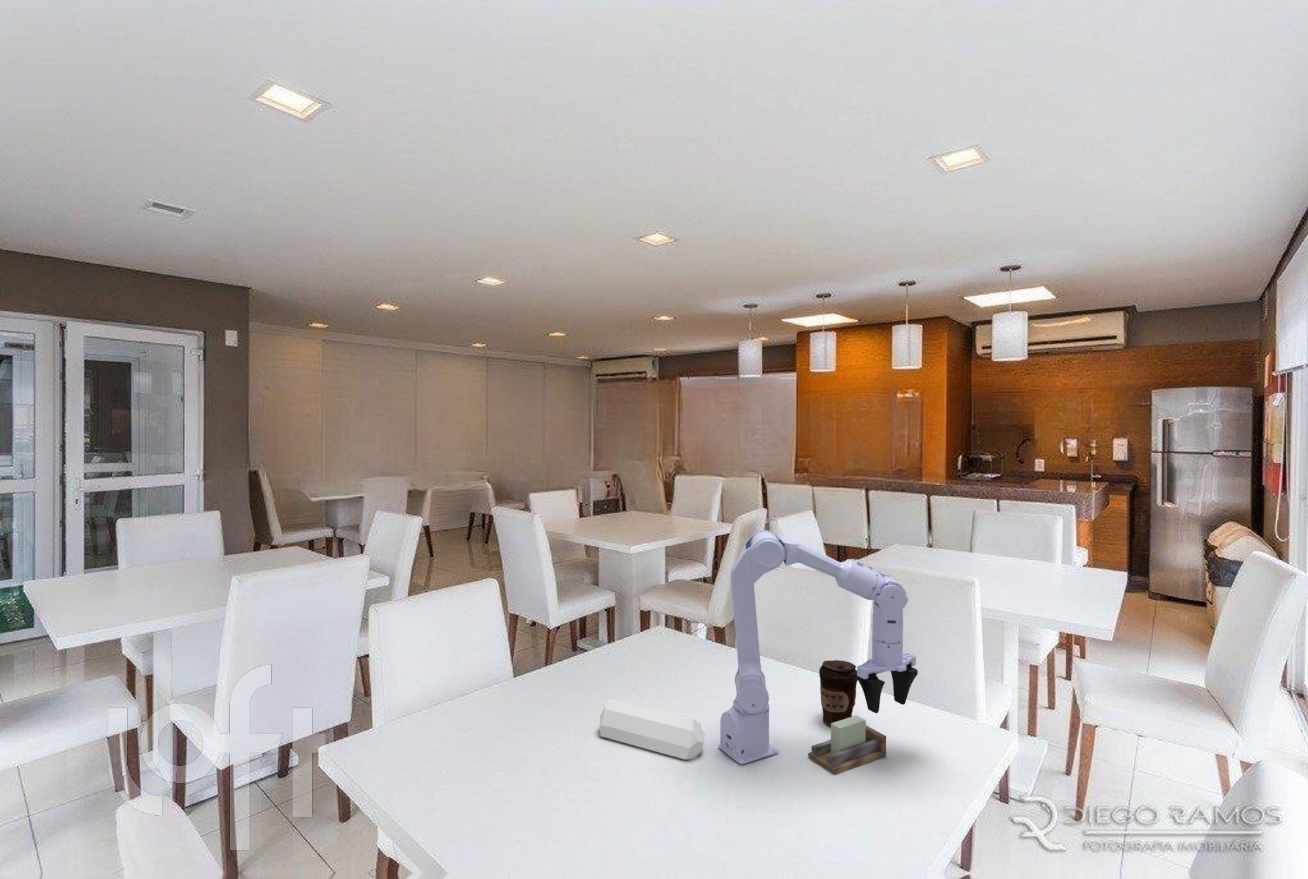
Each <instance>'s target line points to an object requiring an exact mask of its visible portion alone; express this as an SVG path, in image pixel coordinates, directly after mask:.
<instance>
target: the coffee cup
mask: <svg viewBox="0 0 1308 879" xmlns="http://www.w3.org/2000/svg"><path fill="white" fill-rule="evenodd" d="M856 672H857V666H856V665H855V664H854V663H852V662H850V661H846V660H838V659H834V660H824V661H823V662H822V664H821V666H820V667H819V671H818V675H819V681H820V682H819V683H820V684H819V685H820V688H819V689H820V704H821V710H822V721H823V723H824V724H826V725H827V726H830V727H831V723H834V722H837V721H840V720H843V719H847V718H850V717H853V711H854V707H855V705H856V698H857V684H858V682H859V681H858V680H857V678H856Z"/></svg>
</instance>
